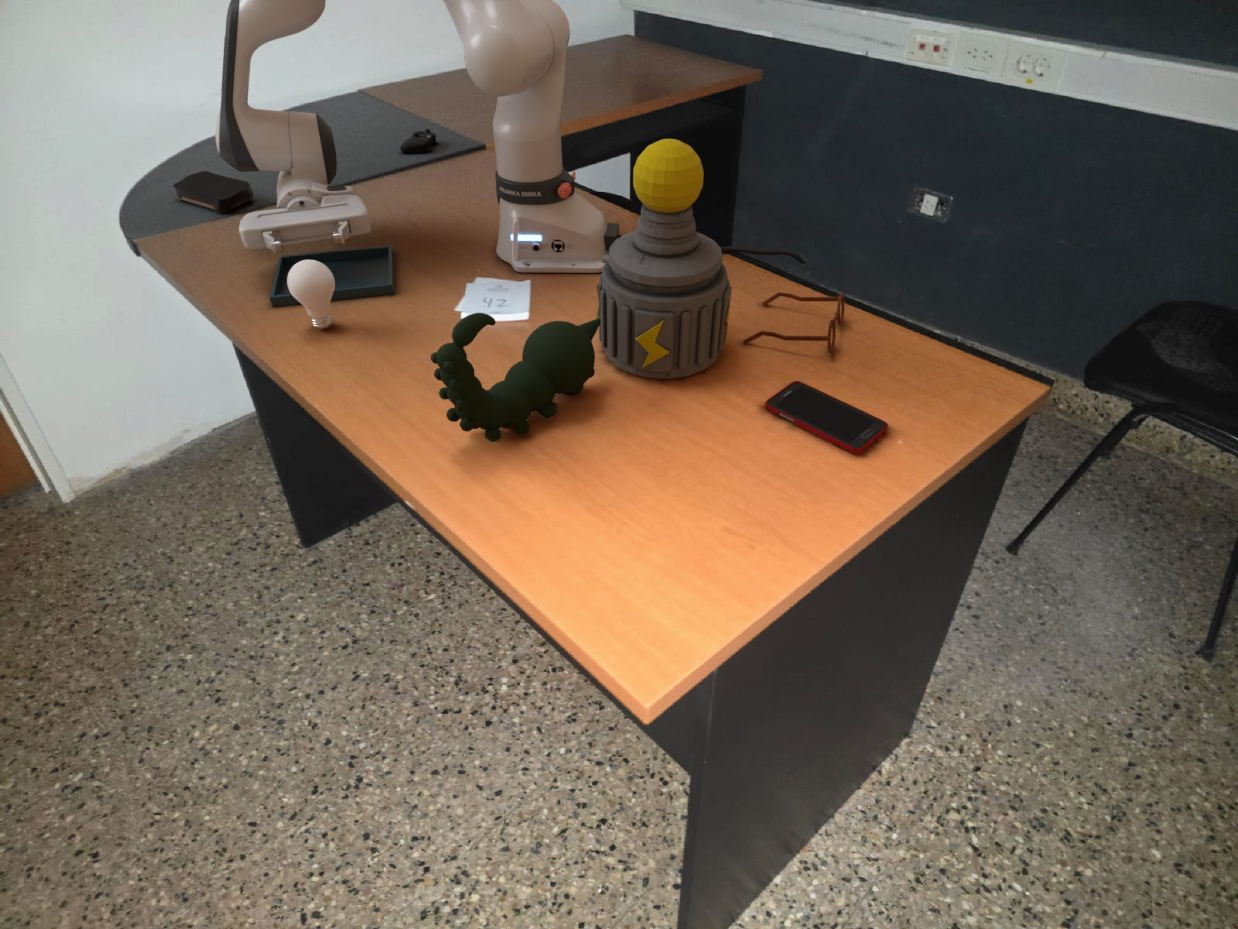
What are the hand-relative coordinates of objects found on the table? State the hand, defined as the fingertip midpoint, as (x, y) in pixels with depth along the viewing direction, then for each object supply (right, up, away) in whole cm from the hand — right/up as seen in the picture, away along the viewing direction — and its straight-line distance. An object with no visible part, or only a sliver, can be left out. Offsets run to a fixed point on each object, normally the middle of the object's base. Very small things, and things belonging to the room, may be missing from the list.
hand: (308, 244), depth 124 cm
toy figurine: (+38, -28, -19) cm, 50 cm away
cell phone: (+76, -29, -20) cm, 84 cm away
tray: (+1, -3, +10) cm, 11 cm away
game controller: (+3, +39, +60) cm, 71 cm away
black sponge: (-33, +19, +36) cm, 52 cm away
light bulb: (+3, -14, -2) cm, 14 cm away
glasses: (+76, -14, -3) cm, 77 cm away
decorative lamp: (+55, -18, -7) cm, 58 cm away
